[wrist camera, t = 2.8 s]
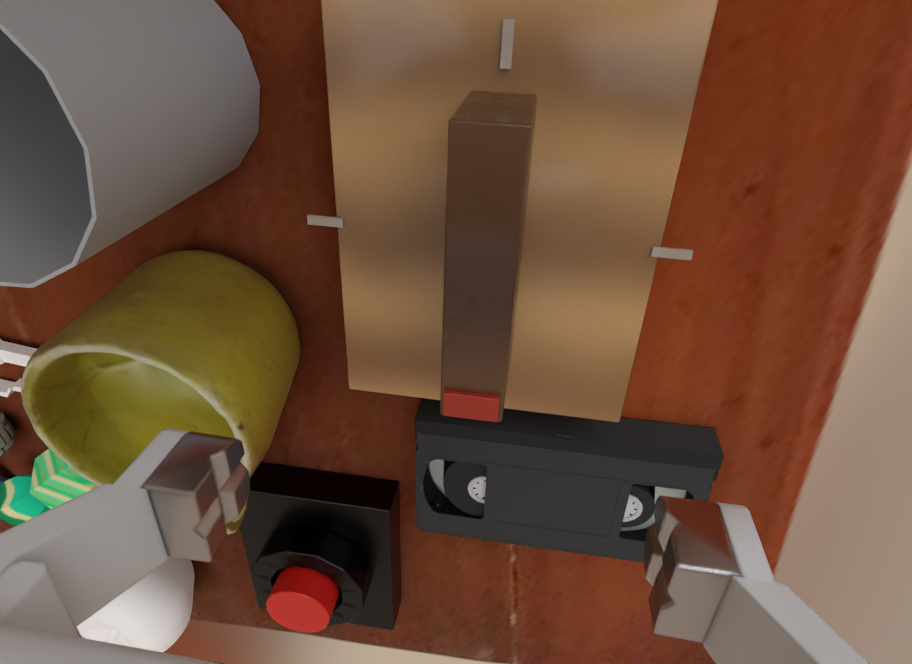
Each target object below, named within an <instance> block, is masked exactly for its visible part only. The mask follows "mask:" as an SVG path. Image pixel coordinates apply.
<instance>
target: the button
mask: <svg viewBox="0 0 912 664" xmlns="http://www.w3.org/2000/svg"><path fill="white" fill-rule="evenodd" d="M338 596H339V589H338V586H337V585H336V584H335V583H334V582H333V580H332V579H331V578H329V577H327V576H325V575H324V574H322V573H320V572H318V571H316V570H314V569H310V568H304V567H298V566H292V567H288V568H285V569H283V570H282V571H281V572H280V574H279V576H278V578H277V580H276V582H275V584H274V586H273V588H272V591H271V593H270V595H269V597H268V599H267V602H266V607H267V610H268V612H269V614H270V615H271V617H272V618H273V619H274V620H275V621H277V622H278V623H280V624H281V625H283V626H285V627H287V628H289V629H292V630H295V631H299V632H307V633H310V632H317V631H320V630H323V629H324V628H325V627H326V626H327V625H328V624H329V621H330V618H331V616H332V613H333V610H334V607H335V604H336V602H337V599H338Z"/></svg>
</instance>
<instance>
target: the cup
mask: <svg viewBox="0 0 912 664" xmlns="http://www.w3.org/2000/svg"><path fill="white" fill-rule="evenodd" d="M259 105H260V83H259V80H258V77H257V74H256V72H255V69H254V66H253V64H252V61H251V58H250V55H249V53H248V50H247V47H246V44H245V42H244V39H243V36H242V33H241V32H240V30H239V29H238V28H237V27H236V26H235V25H234V23H233V22H232V21H231V20H230V19H229V17H228V16H227V15H226V14H225V13H224V11H223V10H222V9H221V8H220V7H219V6H218V4H217V3H216V2H215V1H214V0H0V286H13V287H27V288H34V287H36V286H38V285H40V284H42V283H43V282H45V281H47V280H49V279H51V278H53V277H55V276H57V275H59V274H61V273H63V272H65V271H67V270H69V269H71V268H73V267H75V266H76V265H78V264H80V263H81V262H83V261H85V260H86V259H88V258H90V257H91V256H93V255H95V254H96V253H98V252H100V251H101V250H103V249H104V248H106V247H108V246H109V245H111V244H113V243H114V242H116V241H118V240H119V239H121V238H123V237H124V236H126V235H128V234H129V233H131V232H133V231H134V230H136V229H137V228H139V227H141V226H142V225H144V224H146V223H147V222H149V221H151V220H152V219H154V218H156V217H157V216H159V215H161V214H162V213H164V212H166V211H167V210H169V209H170V208H172V207H174V206H175V205H177V204H179V203H180V202H182V201H184V200H185V199H187V198H189V197H190V196H192V195H194V194H195V193H197V192H198V191H200V190H202V189H203V188H205V187H207V186H208V185H210V184H212V183H213V182H215V181H217V180H218V179H220V178H222V177H223V176H225V175H227V174H228V173H230V172H231V171H233V170H235V169H236V168H238V167H239V166H240V164H241V162H242V160H243V159H244V157H245V155H246V153H247V152H248V150H249V148H250V146H251V145H252V143H253V141H254V139H255V138H256V136H257V134H258V132H259Z"/></svg>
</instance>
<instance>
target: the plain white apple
mask: <svg viewBox="0 0 912 664" xmlns="http://www.w3.org/2000/svg"><path fill="white" fill-rule="evenodd" d="M168 558H169V559H168V560H167V561H166V562H164V563H163V564H162V565H160V566H159V567H157V568H156V569H155V570H153V571H152V572H151V573H149V574H148V575H147V576H145V577H144V578H142V579H141V580H140V581H138V582H137V583H136V584H134V585H133V586H131V587H130V588H129V589H127V590H126V591H125V592H123V593H122V594H121V595H119V596H118V597H116V598H115V599H114V600H112V601H111V602H110V603H108V604H107V605H106V606H104V607H103V608H101V609H100V610H99V611H97V612H96V613H95V614H93V615H92V616H90V617H89V618H88V619H86V620H85V621H84V622H82V623H81V624H80V625H78V626H77V629H78V631H79V633H80V635H81V636H83V637H84V638H85V639H90V640H96V641H101V642H107V643H113V644H118V645H124V646H129V647H135V648H140V649H146V650H151V651H157V652H162V653H163V652H164V651H166V650H167V649H168V648H169V647H170V646H171V645H173V644H174V643H175V641H176V640H177V639H178V638H179V637H180V635H181V634H182V633H183V631H184V630H185V628H186V626H187V624H188V622H189V619H190V616H191V611H192V603H193V590H194V578H195V575H194V569H193V565H192V562H191V560H188V559H181V558H173V557H168Z"/></svg>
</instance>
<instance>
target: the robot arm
mask: <svg viewBox="0 0 912 664" xmlns="http://www.w3.org/2000/svg"><path fill="white" fill-rule="evenodd" d="M244 454H245V452H244V448H243V444H242V441H241V440H239V439H237V438H231V437H225V436H219V435H213V434H207V433H200V432H194V431H191V432H190V431H184V430H179V429H173V428H167V429H165V430H162V431H161V432H159V434H158V435H157V436H156V437H155V438H154V439H153V440H152V441H151V442H150V444H149V445H148V446H147V447H146V448H145V449H144V450H143V451H142V452H141V454H140V455H139V456H138V457H137V458H136V459H135V460H134V461H133V462H132V464H131V465H130V466H129V467H128V468H127V469H126V470H125V471H124V472H123V474H122V475H121V476H120V477H119V478H118V479H117V480H116V481H115V482H114V484H109V483H105V484H103V485H101V486H99V487H97V488H95V489H92V490H90V491H88V492H86V493H84V494H82V495H80V496H78V497H76V498H74V499H71V500H69V501H67V502H65V503H63V504H61V505H59V506H57V507H55V508H53V509H50V510H48V511H46V512H44V513H42V514H40V515H38V516H36V517H34V518H32V519H29V520H27V521H25V522H23V523H21V524H19V525H17V526H15V527H13V528H11V529H8V530H6V531H4V532H2V533H0V664H224V663H218V662H212V661H207V660H201V659H196V658H190V657H185V656H179V655H173V654H168V653H162V652H157V651H151V650H146V649H140V648H135V647H129V646H124V645H118V644H113V643H107V642H101V641H96V640H90V639H85V638H82V637H81V635H80V633H79V631H78V629H77V626H78V625H80V624H81V623H82V622H84V621H85V620H86V619H88V618H89V617H90V616H92V615H93V614H95V613H96V612H97V611H99V610H100V609H101V608H103V607H104V606H106V605H107V604H108V603H110V602H111V601H112V600H114V599H115V598H116V597H118V596H119V595H121V594H122V593H123V592H125V591H126V590H127V589H129V588H130V587H131V586H133V585H134V584H136V583H137V582H138V581H140V580H141V579H142V578H144V577H145V576H147V575H148V574H149V573H151V572H152V571H153V570H155V569H156V568H157V567H159V566H160V565H162V564H163V563H164V562H166V561H167V560H168V559H169V558H168V557H173V558H181V559H188V560H196V561H204V562H211V561H212V559H213V558H214V556H215V554H216V553H217V551H218V549H219V548H220V546H221V544H222V543H223V541H224V539H225V538H226V536H227V530H226V525H225V524H227V523H229V522H230V521H232V520H234V519H235V518H237V517H238V516H239V515H240V513H241V511H242V509H243V508H244V506H245V503H246V500H247V497H248V493H249V486H250V478H249V472H248V470H247V468H246V467H245V466H244V465H243V464H242V463H241V462H240V460H241V459H242V457H243V456H244ZM653 511H654V517H655V523H653V524H652V525H650V526H649V527H648V530H647V534H646V538H645V545H644V569H645V577H646V579H647V580H648V581H649V583H650V584H651V585H652V586H653V588H652V591H651V594H650V597H649V605H650V611H651V618H652V624H653V631H654V634H659V635H664V636H669V637H674V638H680V639H685V640H690V641H696V642H701V643H704V644H703V646H704V648H705V649H706V650H707V652H708V653H709V655H710V656H711V657H712V659H713V660H714V662H715V663H716V664H869V663H868V662H867V661H866V660H865V659H864V658H863V657H862V656H861V655H860V654H858V653H857V652H856V651H855V650H854V649H853V648H852V647H851V646H850V645H849V644H848V643H847V642H846V641H845V640H844V639H843V638H841V637H840V636H839V635H838V634H837V633H836V632H835V631H834V630H833V629H832V628H831V627H830V626H829V625H828V624H826V623H825V622H824V621H823V620H822V619H821V618H820V617H819V616H818V615H817V614H816V613H815V612H814V611H813V610H812V609H810V607H809V606H807V605H806V604H805V603H804V602H803V601H802V600H801V599H800V598H799V597H798V596H797V595H796V594H795V593H794V592H793V591H792V590H790V589H789V588H788V587H787V586H786V585H785V584H784V583H778V582H775V580H774V577H773V575H772V572H771V569H770V566H769V564H768V561H767V558H766V556H765V553H764V550H763V547H762V545H761V542H760V539H759V536H758V534H757V531H756V528H755V526H754V523H753V520H752V517H751V515H750V512H749V510H748V509H747V508H746V507H745V506H742V505H734V504H726V503H718V502H716V503H714V502H708V501H701V500H693V499H685V498H677V497H669V496H661V495H660V496H659V497H658V499H657V500H656V503H655V506H654V509H653Z"/></svg>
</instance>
